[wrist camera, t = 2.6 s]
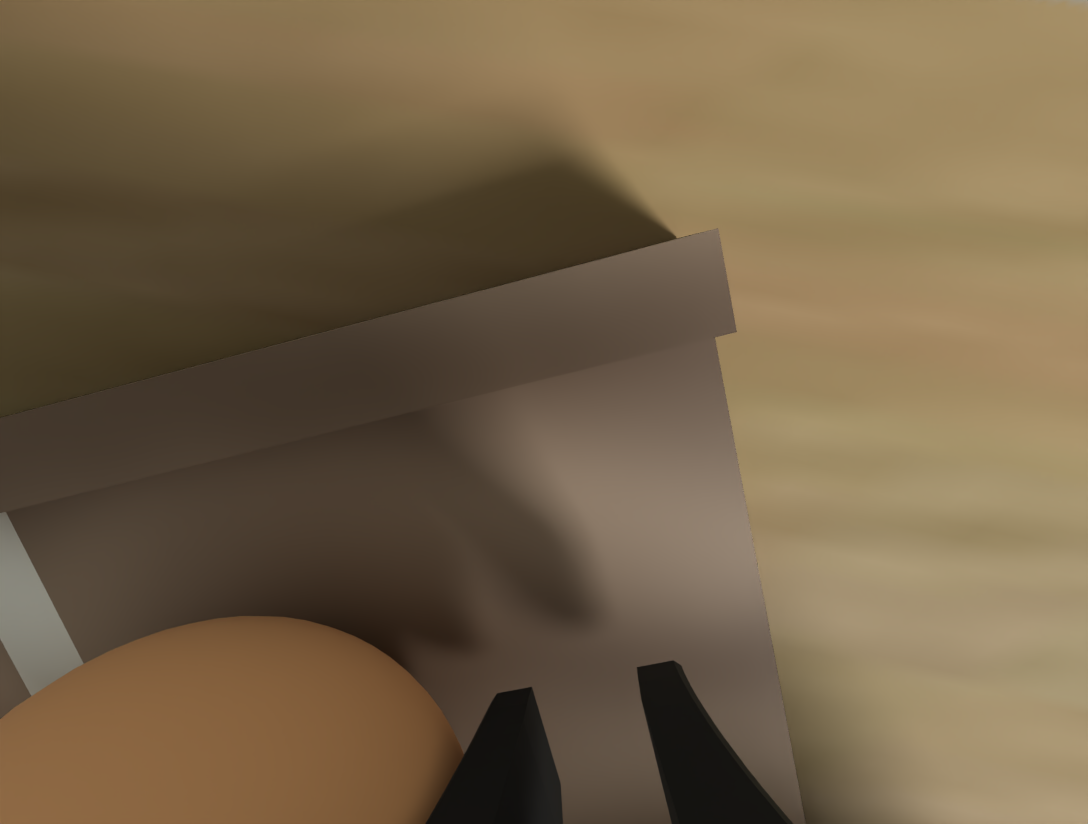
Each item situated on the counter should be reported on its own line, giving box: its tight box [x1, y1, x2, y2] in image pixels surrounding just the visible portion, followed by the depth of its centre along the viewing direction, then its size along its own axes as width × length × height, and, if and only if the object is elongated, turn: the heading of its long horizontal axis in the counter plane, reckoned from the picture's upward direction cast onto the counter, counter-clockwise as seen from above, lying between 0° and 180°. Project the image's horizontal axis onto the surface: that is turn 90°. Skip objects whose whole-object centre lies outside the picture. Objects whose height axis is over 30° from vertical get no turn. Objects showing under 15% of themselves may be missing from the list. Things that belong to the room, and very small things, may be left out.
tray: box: [0, 229, 806, 824], centre depth 11 cm, size 15×28×6 cm, turn 105°
